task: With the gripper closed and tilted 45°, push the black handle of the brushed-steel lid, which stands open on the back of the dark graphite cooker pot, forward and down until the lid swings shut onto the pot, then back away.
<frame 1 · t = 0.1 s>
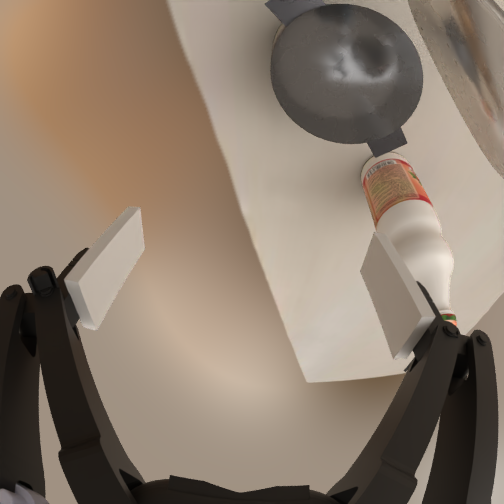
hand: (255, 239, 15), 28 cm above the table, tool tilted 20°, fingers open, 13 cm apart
lid: (484, 69, 10), point 21 cm above the table, hinge at 85.0°
cooker pot: (330, 55, 28), on the table
fruit juice: (385, 172, 41), on the table
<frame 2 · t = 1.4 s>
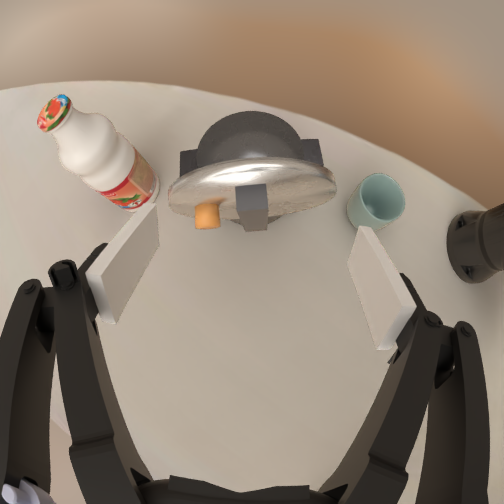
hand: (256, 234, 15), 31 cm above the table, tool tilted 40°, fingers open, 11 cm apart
lid: (253, 206, 26), point 21 cm above the table, hinge at 95.2°
cup: (361, 215, 47), on the table
cooker pot: (253, 185, 48), on the table
fruit juice: (139, 190, 50), on the table
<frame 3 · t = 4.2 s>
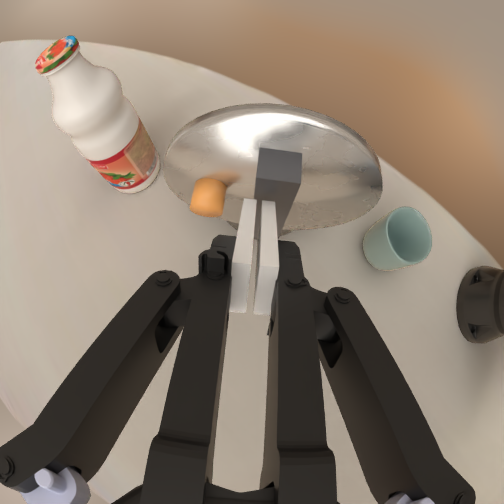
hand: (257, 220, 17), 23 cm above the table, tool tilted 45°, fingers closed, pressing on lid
lid: (271, 197, 20), point 21 cm above the table, hinge at 87.1°, touching gripper
cup: (377, 250, 41), on the table
fruit juice: (136, 170, 43), on the table
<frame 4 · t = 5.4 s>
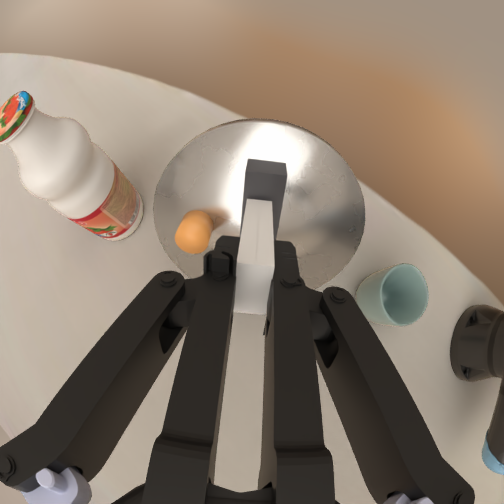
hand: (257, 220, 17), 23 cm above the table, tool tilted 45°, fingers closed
lid: (257, 233, 20), point 20 cm above the table, hinge at 52.0°, touching gripper
cup: (371, 298, 39), on the table
fruit juice: (119, 214, 41), on the table
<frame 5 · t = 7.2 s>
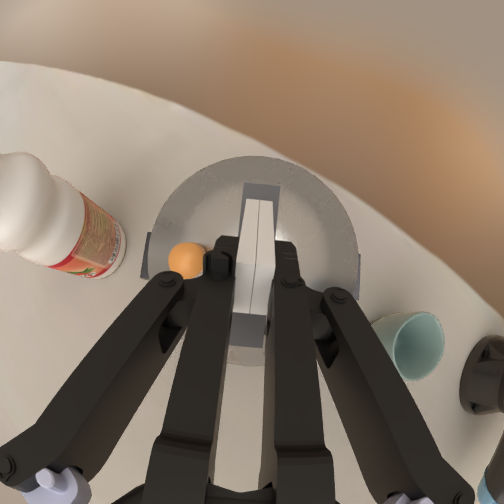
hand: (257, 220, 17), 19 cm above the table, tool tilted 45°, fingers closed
lid: (253, 265, 20), point 16 cm above the table, hinge at 15.3°, touching gripper
cup: (380, 340, 34), on the table
cooker pot: (249, 280, 35), on the table
fruit juice: (100, 248, 36), on the table
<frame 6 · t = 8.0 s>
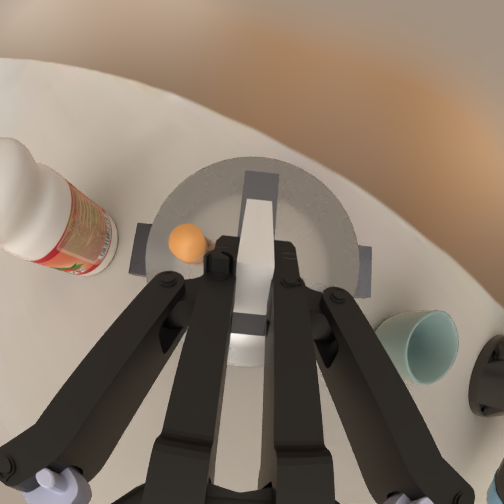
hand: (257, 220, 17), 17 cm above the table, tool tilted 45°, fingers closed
lid: (254, 253, 19), point 14 cm above the table, hinge at -0.1°, touching gripper
cup: (388, 341, 32), on the table
cooker pot: (249, 277, 33), on the table
fruit juice: (91, 243, 33), on the table
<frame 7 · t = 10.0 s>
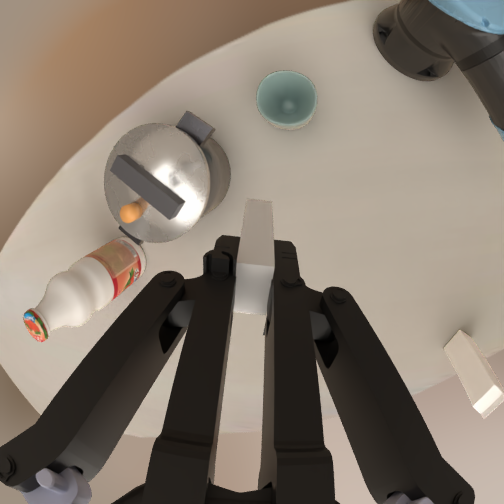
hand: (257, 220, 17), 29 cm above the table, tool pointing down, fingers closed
lid: (148, 184, 33), point 14 cm above the table, hinge at -0.2°
milk: (457, 342, 48), on the table
cup: (289, 109, 39), on the table
cooker pot: (188, 174, 46), on the table
fruit juice: (129, 257, 54), on the table
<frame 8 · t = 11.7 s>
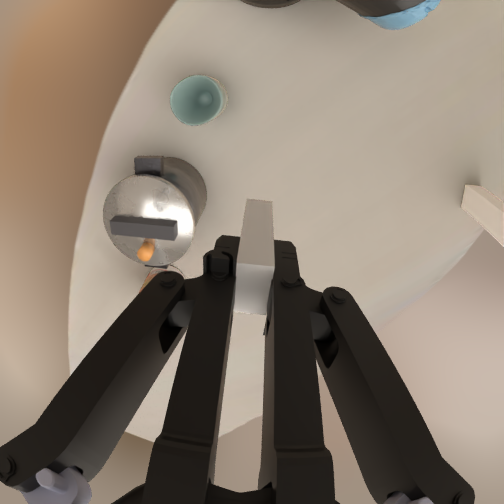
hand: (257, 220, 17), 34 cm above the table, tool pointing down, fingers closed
lid: (144, 225, 41), point 14 cm above the table, hinge at -0.2°
milk: (470, 196, 48), on the table
cup: (209, 98, 42), on the table
cooker pot: (170, 193, 53), on the table
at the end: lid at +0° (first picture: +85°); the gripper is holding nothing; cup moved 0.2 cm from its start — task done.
